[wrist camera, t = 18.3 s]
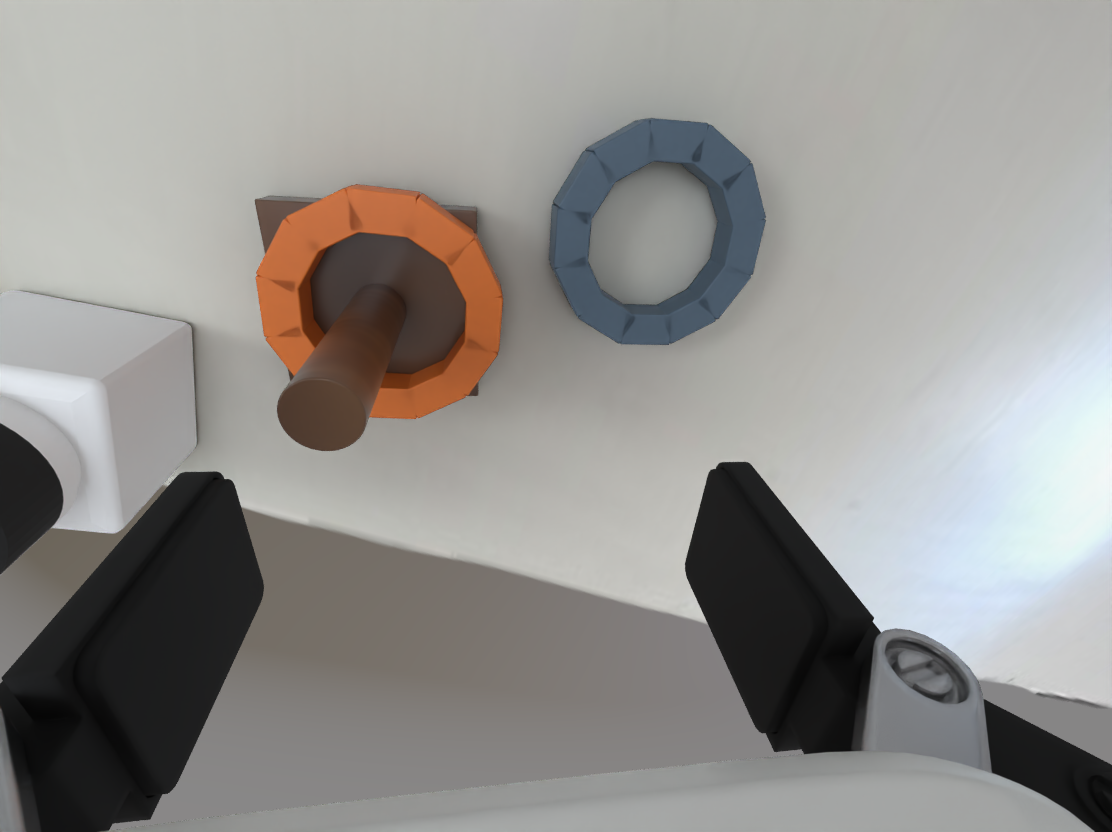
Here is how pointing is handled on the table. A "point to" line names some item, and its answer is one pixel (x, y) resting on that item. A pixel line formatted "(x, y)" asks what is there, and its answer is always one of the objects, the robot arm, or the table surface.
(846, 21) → the table surface
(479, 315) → the orange ring
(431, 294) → the stand
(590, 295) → the slate ring
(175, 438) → the medicine bottle
